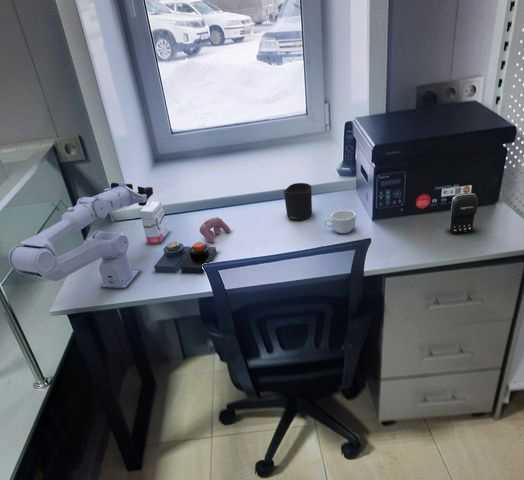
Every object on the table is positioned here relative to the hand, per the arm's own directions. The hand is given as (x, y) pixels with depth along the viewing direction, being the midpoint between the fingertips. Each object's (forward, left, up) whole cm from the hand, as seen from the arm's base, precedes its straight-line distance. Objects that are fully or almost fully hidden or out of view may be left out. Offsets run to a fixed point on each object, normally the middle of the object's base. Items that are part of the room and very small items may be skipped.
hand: (141, 188), depth 157 cm
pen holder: (+25, -44, -21) cm, 55 cm away
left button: (-7, -10, -17) cm, 21 cm away
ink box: (+7, +3, -21) cm, 22 cm away
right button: (-7, -19, -17) cm, 26 cm away
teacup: (+14, -60, -21) cm, 65 cm away
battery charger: (+14, -97, -21) cm, 100 cm away
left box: (-9, -10, -21) cm, 25 cm away
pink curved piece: (+9, -18, -21) cm, 29 cm away
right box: (-9, -19, -21) cm, 29 cm away
